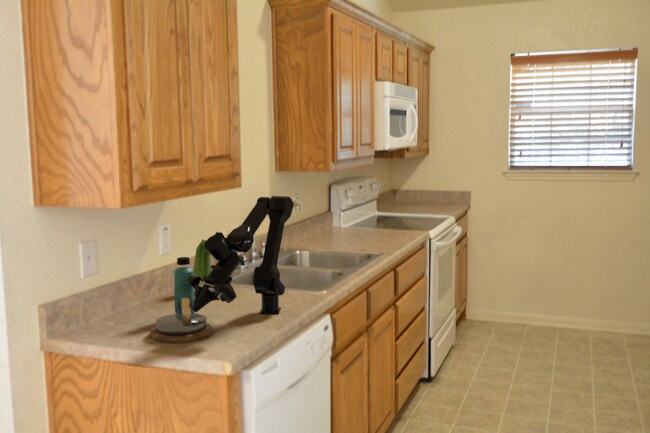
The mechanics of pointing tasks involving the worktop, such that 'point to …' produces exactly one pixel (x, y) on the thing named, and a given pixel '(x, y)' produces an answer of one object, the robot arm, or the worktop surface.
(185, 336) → the stand base
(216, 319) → the worktop surface
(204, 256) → the vegetable
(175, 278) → the beverage bottle
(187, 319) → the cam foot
